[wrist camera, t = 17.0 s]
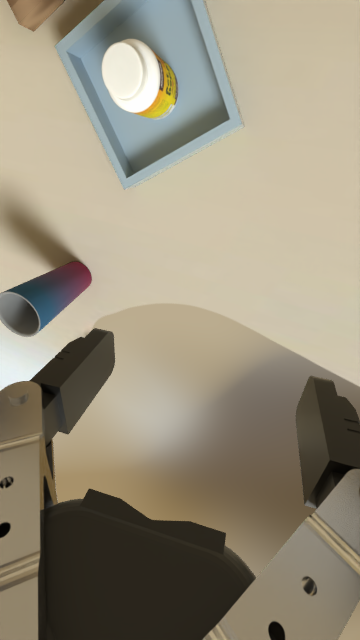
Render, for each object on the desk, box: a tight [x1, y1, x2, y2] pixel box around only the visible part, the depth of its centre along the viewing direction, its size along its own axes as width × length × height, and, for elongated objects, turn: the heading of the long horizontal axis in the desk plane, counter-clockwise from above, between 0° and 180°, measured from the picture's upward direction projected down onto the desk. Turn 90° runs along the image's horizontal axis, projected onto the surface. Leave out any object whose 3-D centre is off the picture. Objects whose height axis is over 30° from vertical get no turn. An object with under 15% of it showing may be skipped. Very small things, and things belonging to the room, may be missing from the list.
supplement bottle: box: [102, 39, 179, 120], centre depth 30 cm, size 6×6×10 cm
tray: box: [55, 0, 244, 190], centre depth 34 cm, size 16×16×4 cm
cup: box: [0, 262, 92, 337], centre depth 45 cm, size 7×7×15 cm
